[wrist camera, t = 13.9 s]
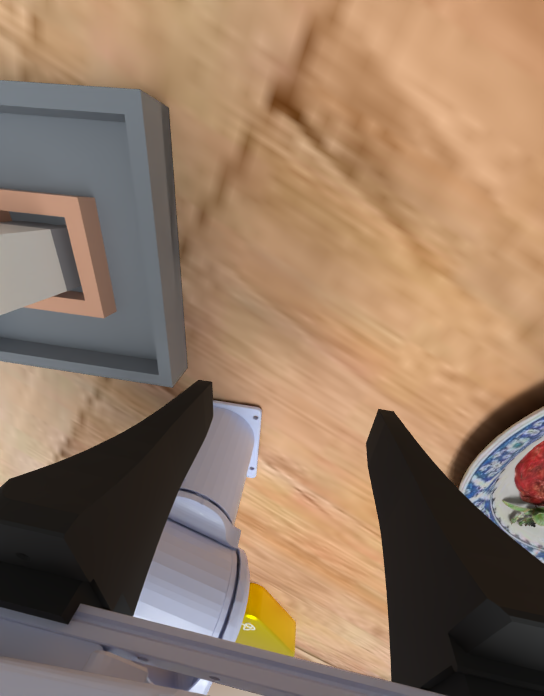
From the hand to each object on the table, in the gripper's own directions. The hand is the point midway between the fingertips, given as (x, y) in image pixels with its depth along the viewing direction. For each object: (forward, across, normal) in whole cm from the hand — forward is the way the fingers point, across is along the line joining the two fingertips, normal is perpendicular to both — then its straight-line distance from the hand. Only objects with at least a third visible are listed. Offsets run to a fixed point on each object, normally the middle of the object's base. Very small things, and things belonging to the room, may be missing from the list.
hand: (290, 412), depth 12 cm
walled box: (+10, +18, -3) cm, 21 cm away
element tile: (+9, +3, +53) cm, 54 cm away
